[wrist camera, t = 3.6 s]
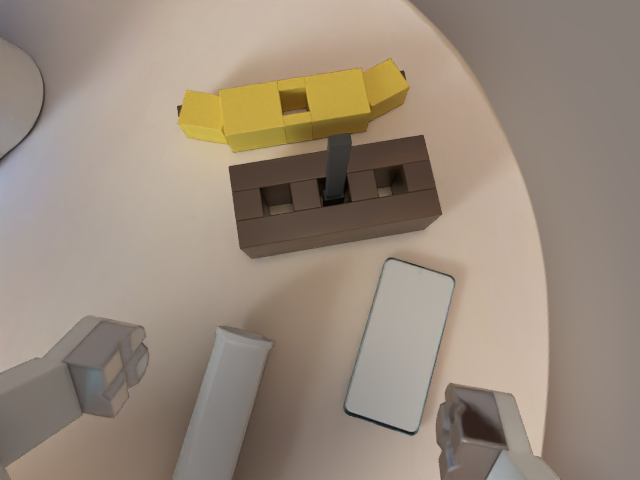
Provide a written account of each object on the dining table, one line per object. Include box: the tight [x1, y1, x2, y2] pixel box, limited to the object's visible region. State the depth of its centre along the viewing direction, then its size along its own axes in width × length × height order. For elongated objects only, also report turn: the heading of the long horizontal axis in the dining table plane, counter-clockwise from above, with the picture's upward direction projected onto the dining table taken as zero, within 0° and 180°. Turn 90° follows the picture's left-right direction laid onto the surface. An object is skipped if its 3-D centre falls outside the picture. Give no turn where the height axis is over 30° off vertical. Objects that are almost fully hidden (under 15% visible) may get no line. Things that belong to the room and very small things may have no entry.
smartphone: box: [344, 258, 455, 436], centre depth 38 cm, size 7×1×15 cm
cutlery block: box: [229, 135, 442, 259], centre depth 38 cm, size 7×17×6 cm, turn 100°
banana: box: [177, 58, 410, 152], centre depth 41 cm, size 6×23×4 cm, turn 100°
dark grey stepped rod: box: [323, 133, 352, 207], centre depth 33 cm, size 2×1×16 cm, turn 100°
